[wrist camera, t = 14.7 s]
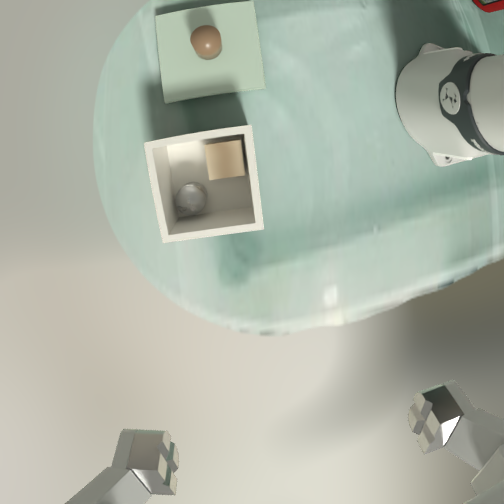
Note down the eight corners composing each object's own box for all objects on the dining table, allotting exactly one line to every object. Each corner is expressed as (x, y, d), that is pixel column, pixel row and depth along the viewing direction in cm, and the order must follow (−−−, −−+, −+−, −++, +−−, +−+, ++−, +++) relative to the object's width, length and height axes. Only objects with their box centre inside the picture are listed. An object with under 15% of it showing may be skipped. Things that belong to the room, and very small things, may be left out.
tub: (248, 126, 37) (251, 124, 30) (258, 210, 41) (264, 229, 34) (161, 139, 37) (143, 142, 30) (175, 222, 41) (163, 243, 34)
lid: (252, 7, 31) (255, -14, 25) (264, 90, 36) (269, 82, 29) (159, 21, 31) (146, 4, 25) (168, 104, 36) (155, 99, 29)
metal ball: (205, 179, 39) (202, 183, 36) (209, 207, 40) (207, 213, 37) (177, 183, 39) (172, 188, 36) (181, 211, 40) (177, 217, 37)
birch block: (240, 139, 37) (240, 139, 33) (244, 170, 38) (245, 175, 35) (207, 143, 37) (204, 145, 33) (211, 175, 38) (209, 180, 35)
